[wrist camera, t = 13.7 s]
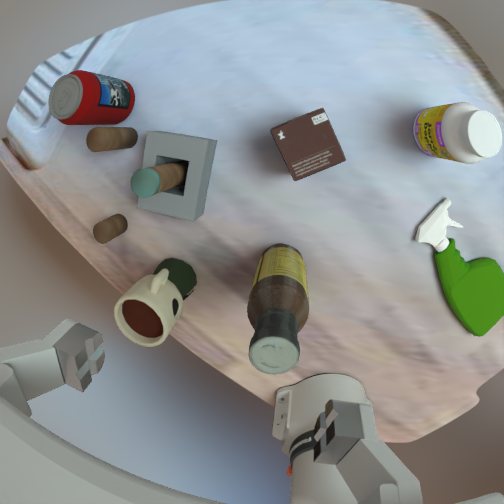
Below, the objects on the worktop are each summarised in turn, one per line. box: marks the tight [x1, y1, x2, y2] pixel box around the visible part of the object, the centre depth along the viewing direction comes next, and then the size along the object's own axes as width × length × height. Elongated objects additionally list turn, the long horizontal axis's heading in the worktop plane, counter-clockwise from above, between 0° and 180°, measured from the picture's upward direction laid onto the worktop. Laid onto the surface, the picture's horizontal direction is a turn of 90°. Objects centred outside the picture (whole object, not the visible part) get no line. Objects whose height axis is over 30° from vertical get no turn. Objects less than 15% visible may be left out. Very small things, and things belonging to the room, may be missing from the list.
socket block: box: [137, 131, 217, 222], centre depth 37 cm, size 10×8×4 cm
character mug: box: [114, 258, 197, 347], centre depth 38 cm, size 11×7×13 cm, turn 156°
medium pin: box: [87, 127, 138, 152], centre depth 34 cm, size 3×3×8 cm
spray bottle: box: [415, 198, 504, 336], centre depth 36 cm, size 3×11×24 cm
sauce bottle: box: [247, 244, 309, 374], centre depth 32 cm, size 6×6×20 cm
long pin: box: [131, 161, 189, 198], centre depth 33 cm, size 3×3×11 cm
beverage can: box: [49, 70, 135, 125], centre depth 30 cm, size 7×7×12 cm
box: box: [270, 108, 346, 181], centre depth 32 cm, size 6×6×7 cm
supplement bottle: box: [413, 102, 502, 164], centre depth 26 cm, size 7×7×13 cm
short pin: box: [93, 214, 128, 244], centre depth 40 cm, size 3×3×5 cm
